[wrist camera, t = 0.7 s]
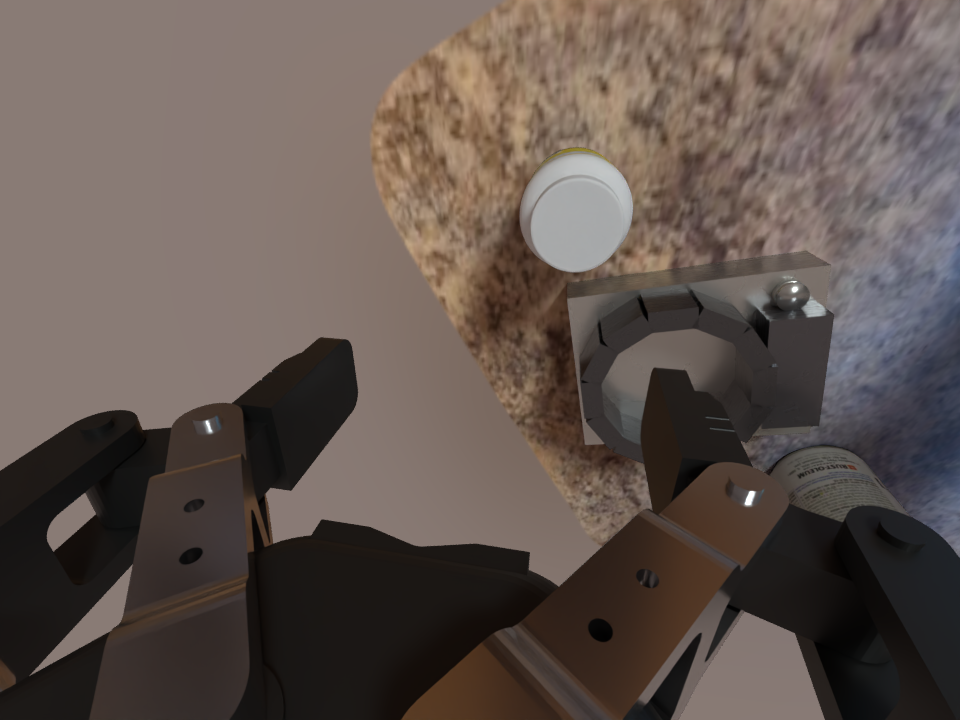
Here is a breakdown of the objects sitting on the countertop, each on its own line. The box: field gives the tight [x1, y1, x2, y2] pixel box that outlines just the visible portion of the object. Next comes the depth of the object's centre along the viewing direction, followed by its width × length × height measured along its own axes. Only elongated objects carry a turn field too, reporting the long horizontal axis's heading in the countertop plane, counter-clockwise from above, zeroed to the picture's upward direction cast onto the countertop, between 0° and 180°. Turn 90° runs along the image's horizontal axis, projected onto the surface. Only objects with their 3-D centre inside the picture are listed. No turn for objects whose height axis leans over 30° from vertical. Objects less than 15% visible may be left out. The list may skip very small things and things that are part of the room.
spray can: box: [769, 445, 910, 522], centre depth 26 cm, size 7×7×20 cm
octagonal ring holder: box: [567, 251, 834, 464], centre depth 29 cm, size 14×11×6 cm
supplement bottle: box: [519, 147, 633, 272], centre depth 24 cm, size 5×5×10 cm
